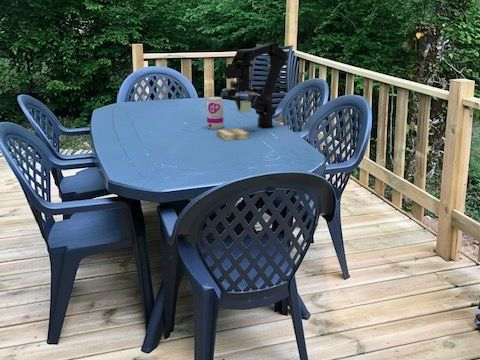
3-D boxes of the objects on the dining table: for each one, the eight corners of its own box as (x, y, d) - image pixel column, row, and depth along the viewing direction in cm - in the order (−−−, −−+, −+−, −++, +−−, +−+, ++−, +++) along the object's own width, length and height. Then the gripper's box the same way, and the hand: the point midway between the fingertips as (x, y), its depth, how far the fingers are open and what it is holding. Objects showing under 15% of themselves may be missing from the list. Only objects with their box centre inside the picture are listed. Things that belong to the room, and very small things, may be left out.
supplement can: (221, 129, 283) (220, 99, 278) (205, 129, 284) (204, 99, 280) (225, 126, 290) (224, 96, 286) (209, 125, 292) (208, 96, 287)
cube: (246, 110, 278) (246, 100, 277) (250, 112, 274) (250, 101, 273) (237, 111, 277) (237, 101, 275) (241, 113, 272) (241, 102, 271)
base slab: (240, 134, 276) (240, 127, 275) (249, 139, 265) (249, 133, 264) (216, 136, 272) (216, 130, 271) (225, 141, 261) (225, 135, 260)
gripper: (255, 73, 281) (255, 105, 286) (219, 76, 274) (220, 108, 279) (264, 76, 271) (264, 109, 276) (227, 78, 264) (228, 112, 269)
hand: (244, 109), depth 275 cm, fingers closed on cube, 5 cm apart
